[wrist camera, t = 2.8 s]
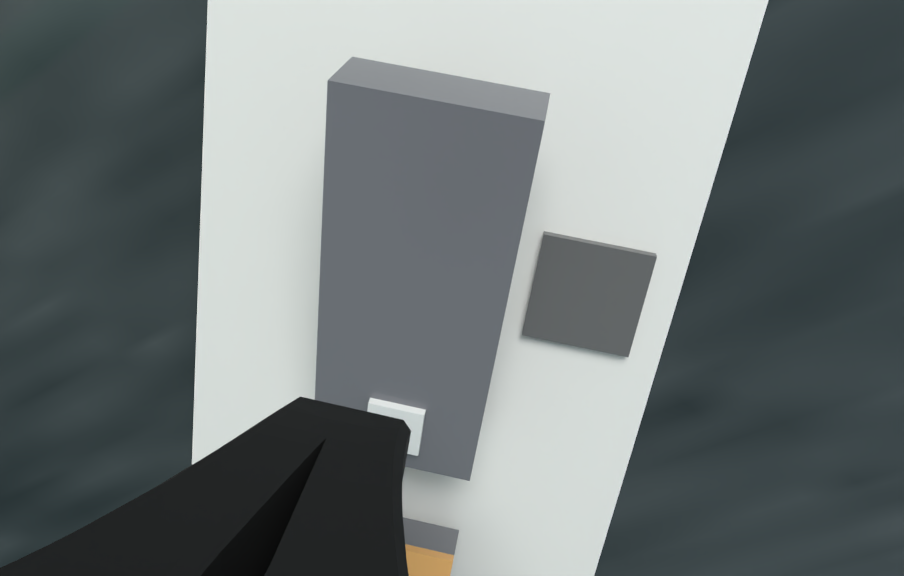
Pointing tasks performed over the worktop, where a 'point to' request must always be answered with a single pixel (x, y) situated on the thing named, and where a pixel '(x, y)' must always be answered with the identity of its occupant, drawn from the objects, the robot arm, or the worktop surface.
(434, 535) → the orange flat bar
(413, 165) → the grey block
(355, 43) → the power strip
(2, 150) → the worktop surface
